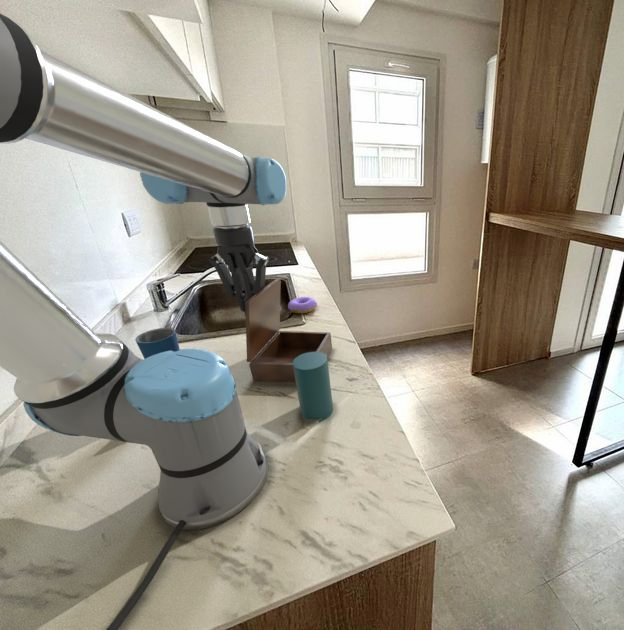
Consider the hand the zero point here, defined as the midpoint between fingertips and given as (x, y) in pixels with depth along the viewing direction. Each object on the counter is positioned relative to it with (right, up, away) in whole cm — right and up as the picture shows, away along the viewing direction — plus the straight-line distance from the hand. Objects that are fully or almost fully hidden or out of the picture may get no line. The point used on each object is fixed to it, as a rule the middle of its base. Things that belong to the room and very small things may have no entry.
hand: (252, 322), depth 82 cm
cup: (-15, -16, -6) cm, 23 cm away
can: (+19, -19, -11) cm, 29 cm away
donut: (-1, +4, +38) cm, 38 cm away
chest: (+9, -11, +5) cm, 15 cm away
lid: (+4, +1, -1) cm, 4 cm away
